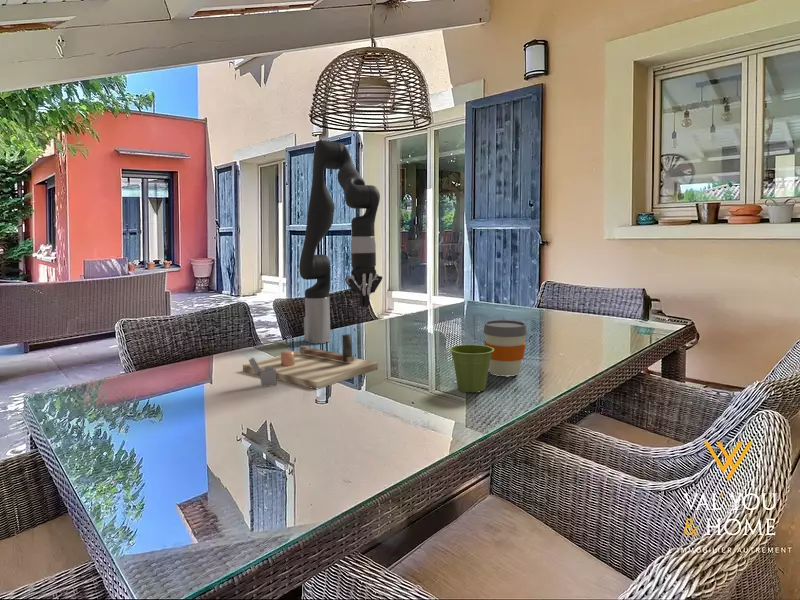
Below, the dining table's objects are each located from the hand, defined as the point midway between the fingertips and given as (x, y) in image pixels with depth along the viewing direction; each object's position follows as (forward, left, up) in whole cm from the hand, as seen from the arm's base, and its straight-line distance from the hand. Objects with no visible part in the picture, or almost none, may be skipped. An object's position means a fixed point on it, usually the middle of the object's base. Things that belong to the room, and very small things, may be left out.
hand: (364, 307), depth 167 cm
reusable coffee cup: (+39, +18, -19) cm, 47 cm away
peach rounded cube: (-15, -18, -17) cm, 29 cm away
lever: (-11, -6, -16) cm, 21 cm away
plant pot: (+39, -2, -19) cm, 44 cm away
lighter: (-10, -32, -19) cm, 39 cm away
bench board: (-11, -13, -19) cm, 25 cm away
